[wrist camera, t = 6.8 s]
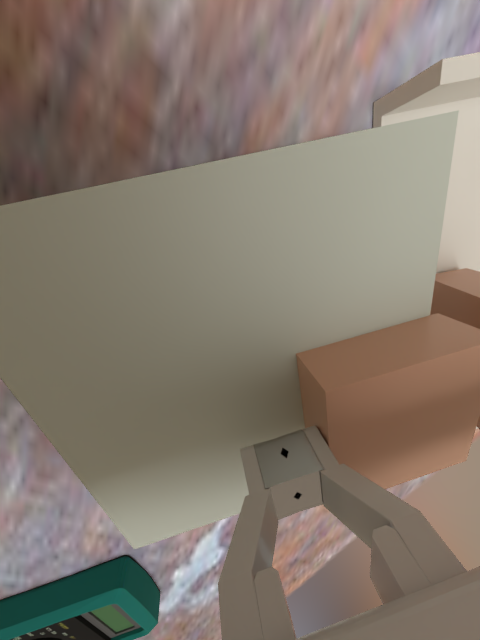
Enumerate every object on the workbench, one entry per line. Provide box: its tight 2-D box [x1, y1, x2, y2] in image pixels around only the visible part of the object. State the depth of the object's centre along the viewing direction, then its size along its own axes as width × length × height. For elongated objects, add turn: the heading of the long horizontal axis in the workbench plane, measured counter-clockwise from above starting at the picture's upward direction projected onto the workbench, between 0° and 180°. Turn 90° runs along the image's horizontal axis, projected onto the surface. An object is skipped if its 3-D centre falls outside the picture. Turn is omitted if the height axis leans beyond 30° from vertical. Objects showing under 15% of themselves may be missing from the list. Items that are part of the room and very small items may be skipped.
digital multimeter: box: [0, 556, 160, 640], centre depth 18 cm, size 7×15×3 cm, turn 103°
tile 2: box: [296, 313, 480, 489], centre depth 10 cm, size 6×6×2 cm
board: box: [0, 110, 459, 549], centre depth 11 cm, size 15×15×4 cm
